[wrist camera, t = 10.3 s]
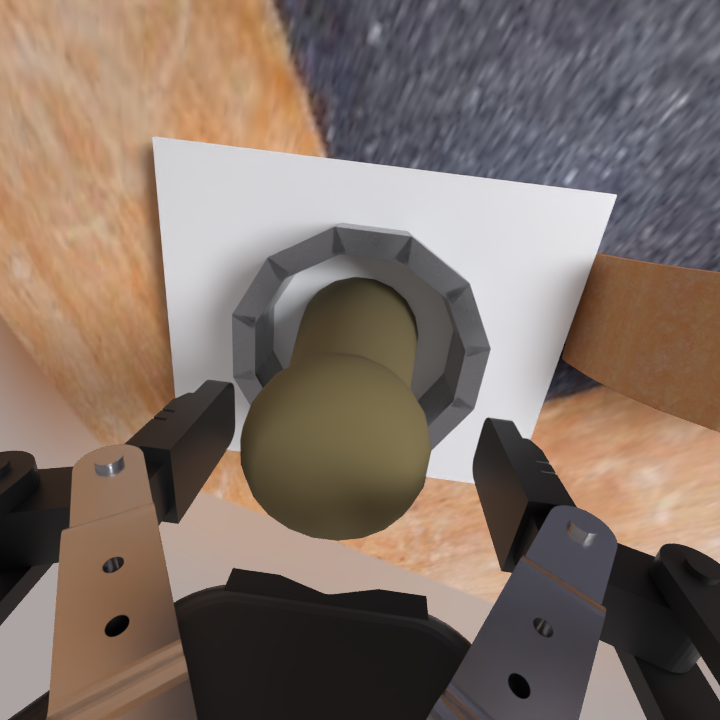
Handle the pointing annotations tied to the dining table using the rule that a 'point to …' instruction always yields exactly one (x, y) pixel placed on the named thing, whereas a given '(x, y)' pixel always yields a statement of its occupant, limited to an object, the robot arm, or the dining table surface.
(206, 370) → the fitting board
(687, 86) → the dining table surface
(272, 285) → the steel ring
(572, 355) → the arch
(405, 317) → the cork
